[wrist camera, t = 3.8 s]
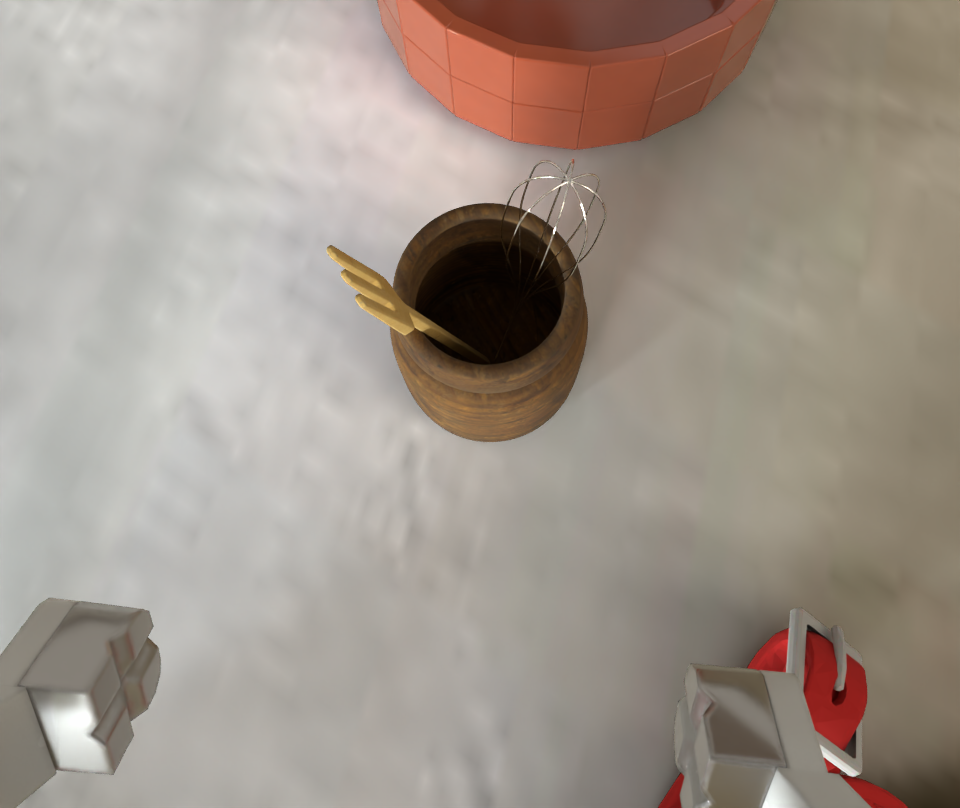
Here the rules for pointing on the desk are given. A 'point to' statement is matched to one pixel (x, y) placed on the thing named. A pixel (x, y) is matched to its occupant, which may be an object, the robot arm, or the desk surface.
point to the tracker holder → (821, 698)
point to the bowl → (574, 62)
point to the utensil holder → (484, 315)
